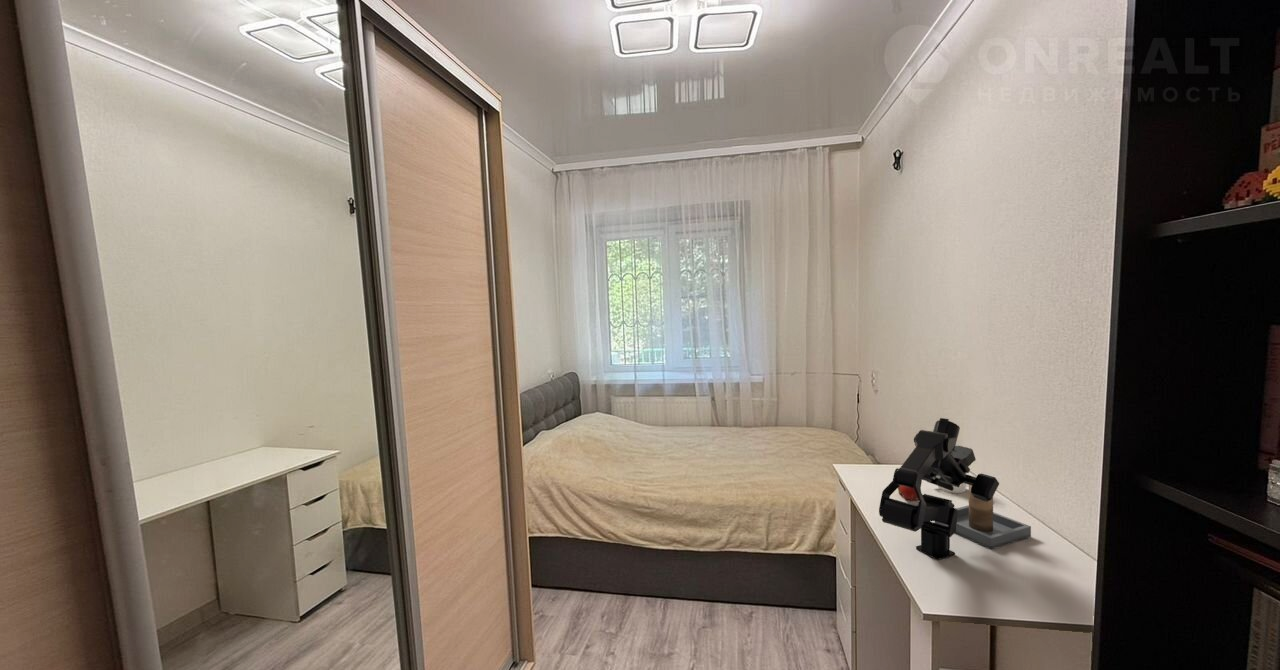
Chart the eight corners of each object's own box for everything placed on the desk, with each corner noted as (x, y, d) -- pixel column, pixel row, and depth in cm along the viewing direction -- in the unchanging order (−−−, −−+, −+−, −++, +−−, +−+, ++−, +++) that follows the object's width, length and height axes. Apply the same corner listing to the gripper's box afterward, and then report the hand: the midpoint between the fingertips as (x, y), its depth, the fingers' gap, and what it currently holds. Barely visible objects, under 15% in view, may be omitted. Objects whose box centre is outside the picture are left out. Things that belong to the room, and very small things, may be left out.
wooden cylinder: (997, 532, 130) (997, 486, 130) (975, 531, 131) (975, 486, 130) (985, 523, 136) (985, 479, 135) (964, 522, 137) (964, 479, 136)
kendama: (891, 485, 172) (895, 497, 155) (895, 468, 171) (899, 479, 155) (915, 492, 168) (922, 505, 152) (919, 474, 168) (926, 486, 152)
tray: (991, 549, 123) (991, 538, 123) (934, 523, 138) (934, 514, 138) (1030, 536, 129) (1030, 526, 128) (972, 513, 144) (972, 504, 143)
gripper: (995, 447, 119) (1019, 481, 124) (924, 431, 136) (948, 462, 141) (976, 483, 116) (1002, 517, 121) (906, 462, 133) (931, 492, 138)
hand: (969, 494), depth 130 cm, fingers open, 9 cm apart
